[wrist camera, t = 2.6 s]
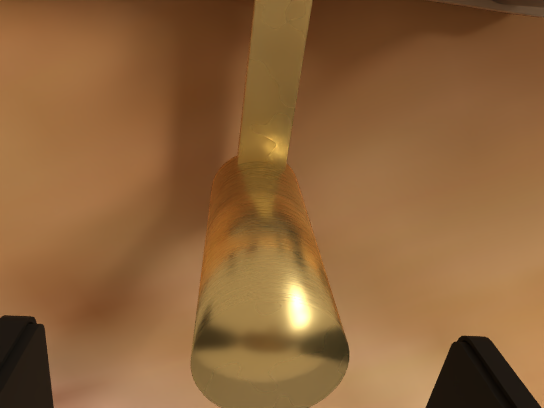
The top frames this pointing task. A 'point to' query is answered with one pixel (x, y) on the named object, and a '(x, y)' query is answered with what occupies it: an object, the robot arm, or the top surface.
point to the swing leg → (266, 247)
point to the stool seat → (503, 6)
